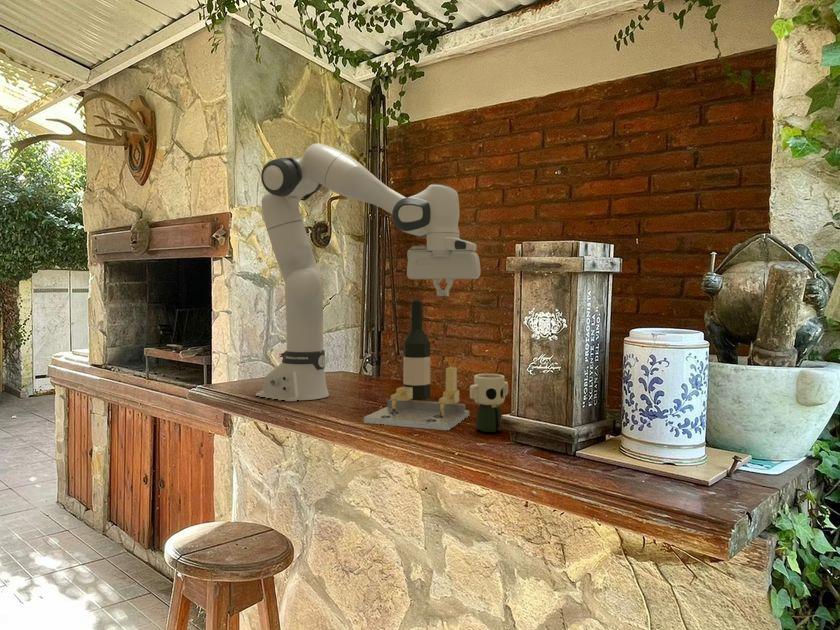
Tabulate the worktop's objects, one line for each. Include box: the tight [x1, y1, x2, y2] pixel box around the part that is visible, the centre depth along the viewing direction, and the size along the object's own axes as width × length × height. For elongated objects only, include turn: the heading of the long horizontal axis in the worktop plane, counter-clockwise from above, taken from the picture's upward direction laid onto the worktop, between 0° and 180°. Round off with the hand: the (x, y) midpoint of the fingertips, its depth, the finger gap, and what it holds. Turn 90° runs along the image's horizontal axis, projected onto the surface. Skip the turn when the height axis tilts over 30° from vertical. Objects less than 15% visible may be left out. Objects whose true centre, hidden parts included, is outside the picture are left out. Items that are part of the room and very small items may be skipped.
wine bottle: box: [402, 298, 431, 400], centre depth 184 cm, size 8×8×30 cm
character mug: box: [469, 373, 509, 433], centre depth 140 cm, size 11×7×13 cm, turn 121°
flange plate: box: [363, 386, 470, 431], centre depth 153 cm, size 22×17×7 cm
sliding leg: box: [438, 366, 460, 415], centre depth 152 cm, size 3×10×11 cm, turn 159°
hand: (443, 296), depth 163 cm, fingers closed
